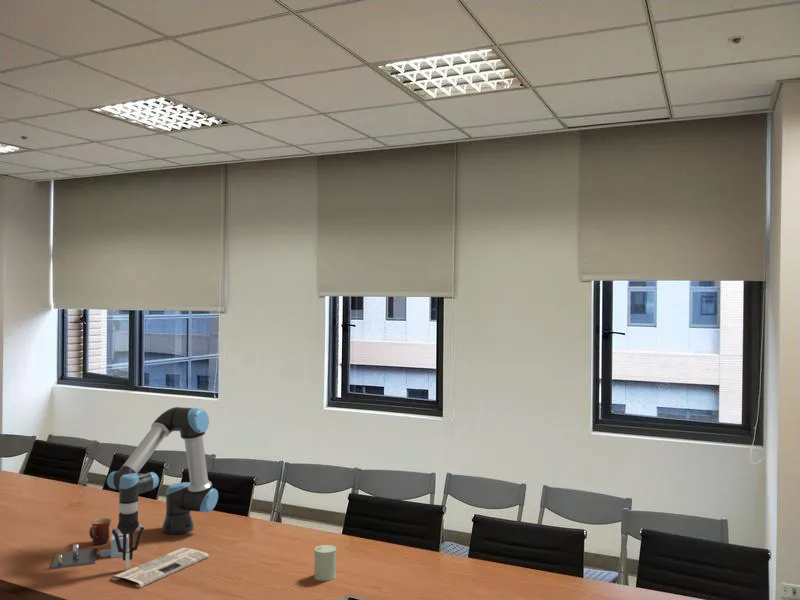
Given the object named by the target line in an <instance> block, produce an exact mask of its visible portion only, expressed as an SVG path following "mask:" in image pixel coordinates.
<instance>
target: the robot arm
mask: <svg viewBox="0 0 800 600" xmlns="http://www.w3.org/2000/svg"><path fill="white" fill-rule="evenodd" d="M209 425H210V417H209V415H208V413H207V412H206V411H205V410H204V409H203V408H199V407H182V406H181V407H180V406H179V407H178V406H175V407H171V408H169V409H167V410H166V411H164V412H163V413H160V414H159V416H158V417H156V419H155V420H154V421H153V422H152V423H151V426H150V427H151V428H150V430H149V431H148V432H147V433H146V435H145V436H144V437H143V438H142V440H141V442H140V443H139V444H138V445H137V446H136V448H135V449H134V451H133V452H132V453H131V454H130V455H129V457H128V458H127V459H126V461H125V462H124V464H123V465H122V466H121V467H120V468H119V470H114V471H111V472H110V473H109V474H108V477H107V479H106V484H107V487H109V489H113V490H119V492H118V493H119V498H118V499H119V500H118V501H119V502H118V503H119V504H118V512H119V513H118V524H117V526H116V527H115V528H112V530H111V534H112V535H114V536H115V540H116V544H117V549H118V552H122V553H123V556H122V561H125V569H126V570H127V569H128V570H130V561H131V560H133V552H134V551H138V547H139V543H140V539H141V536H142V533H143V531H144V530H145V526H144V525H141V524H140V523H139V512H138V511H139V495H140V494H143V493H146V492H150V491H152V490H154V489H156V488H157V487H158V486H159V482H160V478H159V476H158V474H157V473H155V472H154V471H151V472H146V473H139V472H140V471H141V469H142V468H143V467H144V466H145V464H146V463H147V462H148V460H149V459H150V458H151V456H152V455H153V454H154V452H155V450H156V449H157V448H158V447H159V445H160V444H161V442H162V441H163V440H164V439H165V438H168V437H169V436H170V435H171V433H173V432H179V434H180V439H183V440H184V444H185V453H186V454H185V455H186V461H187V467H188V469H187V470H188V477H189V482H187V481H185V482H184V481H183V482H178V483H174V484H170V485H169V486H167V488H166V494H165V496H166V497H165V498H166V499H165V503H166V505H165V511H166V512H165V513H166V514H165V517H164V521H163V523H162V527H161V528H162V529H161V531H162V533H163V534H165V535H182V534H185V533H189V532H191V531H193V530H194V521H193V517H192V515H191V512H198V513H199V512H200V513H209V512H211V511H213V510H214V508H215V507H216V505H217V503H218V499H219V492H218V490H217V489H216V488H213V483H212V481H210V480H209V477H208V476H209V475H208V468H207V461H206V455H205V454H206V452H205V447H204V446H205V445H204V435H206V431H207V430H208V428H209ZM137 530H138V531H137ZM135 531H137V535H136V539H135V544H134V533H135ZM119 533H120V534H123V548H121V544H120V540H119V536H118V534H119ZM126 534H129V547H128V551H126ZM133 544H134V546H133Z"/></svg>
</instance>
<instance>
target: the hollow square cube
mask: <svg viewBox="0 0 800 600" xmlns="http://www.w3.org/2000/svg"><path fill="white" fill-rule="evenodd" d="M118 536H119V540H120V544H121V548H123V534H122V533H118ZM110 541H111V543H110V548H109V549H108V548H107V549H101V550H100V551H99V552H100V553H99V557H100V558H105V557H110V558H111V559H113V558H119V557H120V558H121V557H122V558H123V553H122V552H118V549H117V544H116V540H115V536H114V535H113V534H112V535H111V538H110ZM129 546H130V534H126V551H129Z"/></svg>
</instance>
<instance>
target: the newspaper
mask: <svg viewBox="0 0 800 600" xmlns="http://www.w3.org/2000/svg"><path fill="white" fill-rule="evenodd" d="M209 556H210V554H208V553H207V552H204V551H201V550H197V549H195V548H188V547H181V548H178V549H177V550H173V551H172V552H169V553H167V554H164V555H162V556H159V557H157V558H154V559H152V560H150V561H147V562H144V563H142V564H140V565H137V566H135V567H132V568H129V569H128V570H127V569H126V570H125V571H123V572H120V573H118V574H115V575H113V576H111V577H110V580H112V581H119V580H121V579H126V580H127V581H128V580H129V581H132V582H135V583H137V584H135V585H134V586H135V587H137V588H139V589H140V588H143V587H145V586H147V585H149V584H151V583H154V582H156V581H158V580H161V579H163V578H166V577H168V576H170V575H172V574H174V573H176V572H179V571H181V570H183V569H185V568H187V567H190V566H192V565H195V564H196V563H199V562H201V561H204V560H205V559H207V558H209Z"/></svg>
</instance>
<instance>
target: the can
mask: <svg viewBox="0 0 800 600" xmlns="http://www.w3.org/2000/svg"><path fill="white" fill-rule="evenodd" d="M313 573H314V575H313V579H315V580H316V581H321V582H328V581H332V580H335V579H336V577H337V547H336V546H335V545H332V544H321V545H318V546H316V547H315V548H314V572H313Z"/></svg>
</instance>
